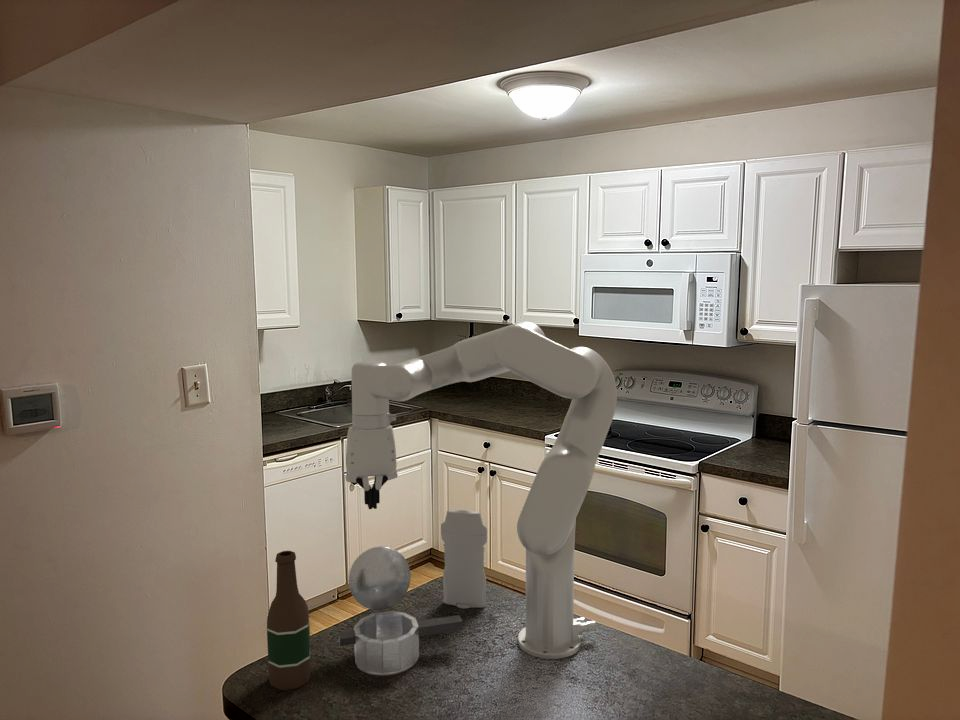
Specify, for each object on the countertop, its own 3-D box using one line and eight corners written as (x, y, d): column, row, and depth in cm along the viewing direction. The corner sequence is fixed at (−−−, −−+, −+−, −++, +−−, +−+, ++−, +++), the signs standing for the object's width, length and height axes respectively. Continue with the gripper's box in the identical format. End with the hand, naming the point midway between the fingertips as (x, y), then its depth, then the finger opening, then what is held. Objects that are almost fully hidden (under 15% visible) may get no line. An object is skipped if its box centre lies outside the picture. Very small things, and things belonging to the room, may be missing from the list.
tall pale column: (489, 602, 156) (489, 508, 153) (485, 611, 152) (484, 514, 150) (444, 597, 159) (443, 505, 156) (439, 606, 155) (437, 511, 152)
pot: (453, 629, 144) (452, 600, 143) (469, 662, 132) (468, 630, 131) (337, 647, 138) (336, 616, 137) (342, 683, 125) (341, 649, 125)
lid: (412, 605, 140) (409, 601, 143) (409, 543, 141) (406, 541, 144) (350, 614, 137) (349, 610, 140) (347, 550, 138) (346, 548, 140)
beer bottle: (300, 693, 122) (295, 563, 119) (260, 689, 124) (254, 560, 121) (319, 669, 130) (315, 546, 127) (281, 665, 131) (276, 543, 129)
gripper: (403, 415, 148) (404, 498, 151) (332, 419, 144) (334, 504, 147) (409, 423, 141) (410, 509, 144) (335, 427, 137) (337, 516, 139)
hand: (372, 506), depth 145 cm, fingers closed
